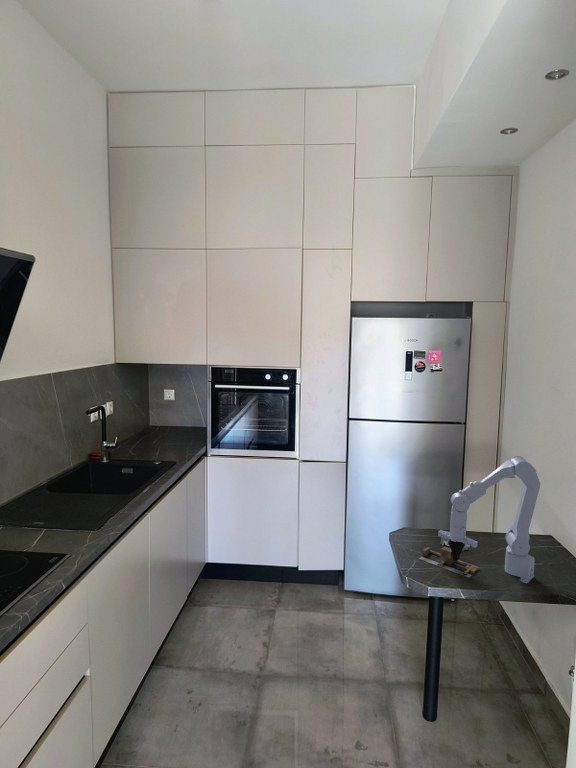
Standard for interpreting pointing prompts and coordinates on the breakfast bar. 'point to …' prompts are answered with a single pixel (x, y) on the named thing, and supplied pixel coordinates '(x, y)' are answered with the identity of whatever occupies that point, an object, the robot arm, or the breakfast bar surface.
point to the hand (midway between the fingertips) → (456, 559)
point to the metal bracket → (446, 540)
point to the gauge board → (467, 569)
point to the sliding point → (446, 556)
